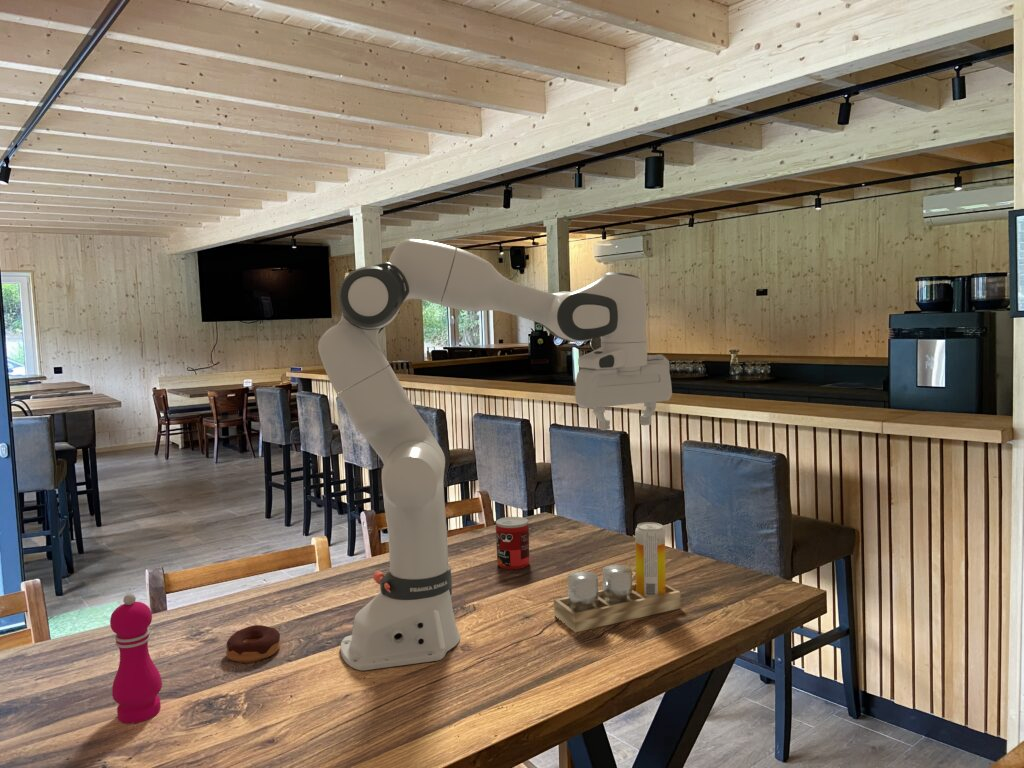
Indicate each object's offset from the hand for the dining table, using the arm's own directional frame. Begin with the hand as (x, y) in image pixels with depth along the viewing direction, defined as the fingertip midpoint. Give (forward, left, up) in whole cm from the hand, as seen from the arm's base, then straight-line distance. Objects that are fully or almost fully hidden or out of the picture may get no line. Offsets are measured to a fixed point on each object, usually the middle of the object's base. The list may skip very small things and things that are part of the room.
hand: (625, 427), depth 150 cm
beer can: (+8, +4, -37) cm, 38 cm away
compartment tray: (0, +4, -39) cm, 39 cm away
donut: (-70, +20, -40) cm, 83 cm away
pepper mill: (-89, +6, -39) cm, 98 cm away
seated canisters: (-4, +4, -37) cm, 38 cm away
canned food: (-7, +41, -39) cm, 57 cm away
